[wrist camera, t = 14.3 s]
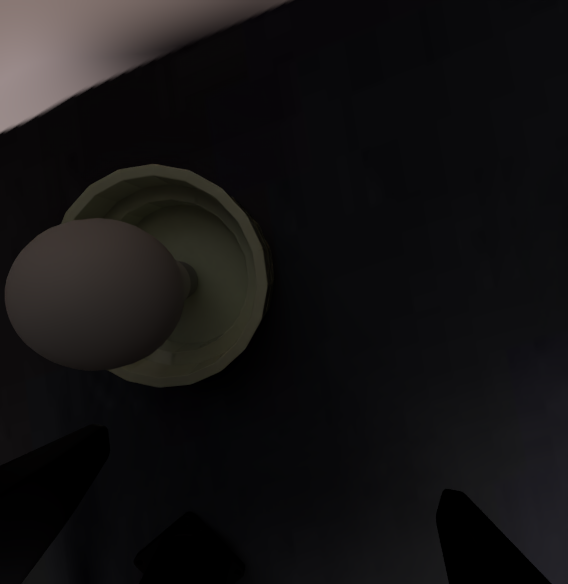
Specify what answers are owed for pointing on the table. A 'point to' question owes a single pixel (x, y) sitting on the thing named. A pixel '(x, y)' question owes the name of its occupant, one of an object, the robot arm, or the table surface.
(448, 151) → the table surface
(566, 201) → the table surface
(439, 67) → the table surface
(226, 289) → the bowl
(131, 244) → the lightbulb
